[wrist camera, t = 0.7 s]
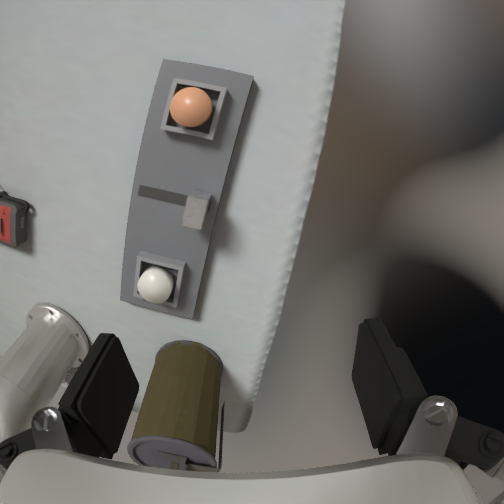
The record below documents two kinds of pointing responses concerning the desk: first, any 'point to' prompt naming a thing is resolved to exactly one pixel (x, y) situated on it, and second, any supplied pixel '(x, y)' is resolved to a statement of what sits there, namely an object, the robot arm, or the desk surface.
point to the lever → (196, 209)
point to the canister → (180, 411)
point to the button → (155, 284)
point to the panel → (180, 182)
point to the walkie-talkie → (12, 219)
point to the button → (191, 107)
